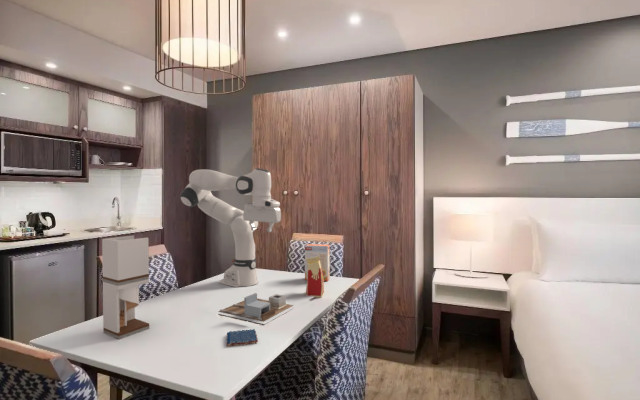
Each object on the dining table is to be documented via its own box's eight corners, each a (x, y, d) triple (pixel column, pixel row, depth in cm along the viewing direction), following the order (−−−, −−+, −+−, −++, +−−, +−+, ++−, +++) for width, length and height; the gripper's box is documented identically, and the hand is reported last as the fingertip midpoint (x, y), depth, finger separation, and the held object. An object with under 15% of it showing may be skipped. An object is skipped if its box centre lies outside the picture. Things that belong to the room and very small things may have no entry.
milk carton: (324, 292, 182) (324, 254, 182) (322, 297, 173) (322, 257, 172) (306, 291, 183) (306, 253, 182) (304, 297, 174) (304, 257, 173)
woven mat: (258, 345, 121) (258, 339, 121) (226, 348, 118) (226, 342, 118) (256, 333, 131) (256, 327, 131) (226, 336, 128) (226, 330, 128)
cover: (244, 314, 144) (244, 297, 144) (255, 309, 150) (255, 293, 150) (259, 318, 140) (259, 300, 140) (270, 312, 146) (270, 295, 146)
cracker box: (329, 279, 209) (329, 244, 209) (327, 281, 203) (327, 245, 203) (307, 277, 212) (307, 243, 212) (304, 280, 207) (304, 244, 206)
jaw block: (268, 306, 155) (268, 297, 155) (275, 302, 160) (275, 294, 160) (278, 308, 152) (278, 299, 152) (285, 304, 157) (285, 295, 157)
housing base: (218, 314, 149) (218, 304, 148) (251, 300, 168) (251, 291, 168) (263, 325, 137) (263, 313, 137) (293, 308, 157) (293, 298, 157)
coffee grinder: (118, 339, 124) (117, 241, 123) (103, 332, 129) (102, 238, 128) (149, 328, 133) (148, 237, 132) (133, 323, 139) (132, 235, 138)
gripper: (240, 201, 170) (240, 230, 170) (275, 203, 160) (274, 233, 161) (248, 201, 175) (248, 228, 176) (282, 202, 166) (282, 231, 166)
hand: (261, 231), depth 168 cm, fingers open, 8 cm apart
